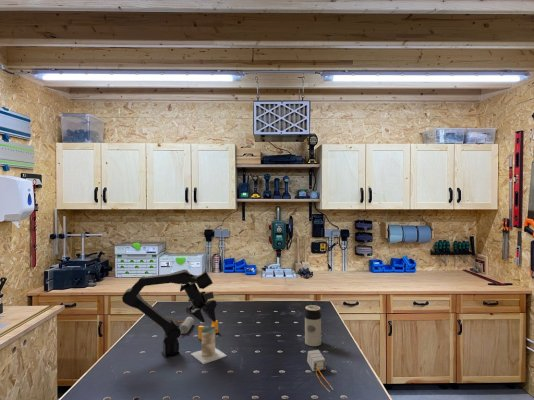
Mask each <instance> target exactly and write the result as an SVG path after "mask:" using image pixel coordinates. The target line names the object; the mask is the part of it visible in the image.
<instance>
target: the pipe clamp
mask: <svg viewBox="0 0 534 400" xmlns="http://www.w3.org/2000/svg"><path fill="white" fill-rule="evenodd" d="M210 326H211V327H215V335H216V334H218V333H219V320H217V319H216V322H213V321H212V320H211V325H210ZM204 327H205V326H204V325H199V326H198V327H197V328H198V331H197V334H198V335H197V336H198V340H201V341H202V333H201V330H202V329H203V328H204Z"/></svg>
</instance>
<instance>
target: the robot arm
mask: <svg viewBox="0 0 534 400" xmlns="http://www.w3.org/2000/svg"><path fill="white" fill-rule="evenodd" d="M165 284H175V285H180V288H179V291H180V292H183V291H184V292H185V294H186V295H187V297H188V299H187V301H188V302H189V303H191V304H190V305H188V306H187V307H186V309H185V313H186V314H187V315H190V316H192V318H195V319H196V320H198V321H199V322H201V323H203V324H204V323H206V322H205V321H206V320H205V318H204V316H203V313H202V312H201V311H203V312H204V314H205V315H206V317H208V319H210V320H211V322H212V321H213V322H216V320H217V317H216V312H215V310H216V308H217V306H218V301H217V300H216V299H215V296H214V293H213V292H214V291H208V292H205V291H200V290H205V289H206V288H208V287H210V286H211V285H213V284H214V282H213V279H212V278H211V276H210V275H209V274H208V272H207V271H203V272H202V273H201V274H199V275H196V274H195V275H194V274H193V273H190V271H189V270H187V269H181V270H177V271H174V272H172V273H167V274H158V275H149V276H146V275H145V276H144V275H143V276H141V277H139V279H137V281H136V282H135V283H134V284H133V286H131V287H130V288H127V289H126V290H125V291H124V293H123V294H122V297H121V298H122V299H121V300H122V302H123V303H124V304H125V305H126V306H128V307H131V308H133V309H137V310H139V311H140V312H141V313H142V314H144V315H145V316H147V317H148V318H149V319H150V320H152V321H153V323H157V326H159V327H160V328H161V329H162V330H163V332H164V334H163V340H162V351H161V352H160V353H161V354H162V355H163V356H164V357H165V358H170V357H173V356H177V355H179V354H180V342H179V338H180V336H181V335H182V334H181V325H182V324H181V323H179V321H180V320H176V318H174V317H172V318H171V319H170V318H168V317H166V316H165V315H164V314H162V313H161V312H160V311H158V310H157V309H156V308H155V307H154V306H152V305H151V304H150V303H148V302H147V301H145V300H144V298H143V297H142V295H141V294H140V292H141V291H142V290H143V289H144V288H145V287H148V286H156V285H157V286H158V285H165ZM212 299H213V300H212ZM214 299H215V300H214Z"/></svg>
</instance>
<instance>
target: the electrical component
mask: <svg viewBox="0 0 534 400" xmlns="http://www.w3.org/2000/svg"><path fill="white" fill-rule="evenodd" d="M306 359H307V360H306V362H307V364H308V365H309V368H310V369H311V370H312V371H313V372H315V373H316V377H317V378H318V380H319V382H320V384H321V385H323V387H324V388H325V389H326V390H327V391H328V392H329V393H331V391H330V390H329V389H328V387H327V386H326V385H325V384H324V383H323V382H322V380H321V378H320V376H319V375H318V372H319V373H320V375H321V377H322V378H323V379H324V380H325V382H326V383H327V384H328V386H329V387H330V388H331V390H334V388H333V387H332V386H331V384H330V383H329V382H328V381H327V379H326V378H325V377H324V375H323V373H322V372H321V371H325V370H327V367H326V365H327V364H328V362H327V361H326V359H325V357H324V355H323V354H322V353H321V351H320V350H319V349H314V350H308V351H307V357H306Z"/></svg>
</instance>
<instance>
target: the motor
mask: <svg viewBox="0 0 534 400" xmlns="http://www.w3.org/2000/svg"><path fill="white" fill-rule="evenodd" d="M178 321H179V324H180V325H181V335H187V334H188V333H189V331H190V329H192V326H193V324H194V323H195V319H194V317H193V316H192V317H191V316H187V317H186V318H185V319H184V320H178ZM152 324H153V325H154V324H155V325H156V324H157V323H156V322H153V323H152ZM157 325H158V324H157Z"/></svg>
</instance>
